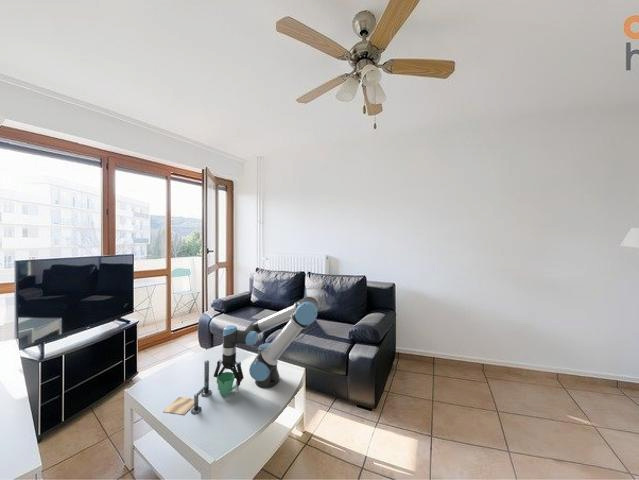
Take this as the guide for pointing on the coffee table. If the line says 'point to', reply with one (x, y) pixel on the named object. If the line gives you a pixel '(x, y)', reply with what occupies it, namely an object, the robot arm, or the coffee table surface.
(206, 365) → the metal wall bracket
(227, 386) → the mug
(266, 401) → the coffee table surface
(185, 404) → the coaster
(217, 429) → the coffee table surface
